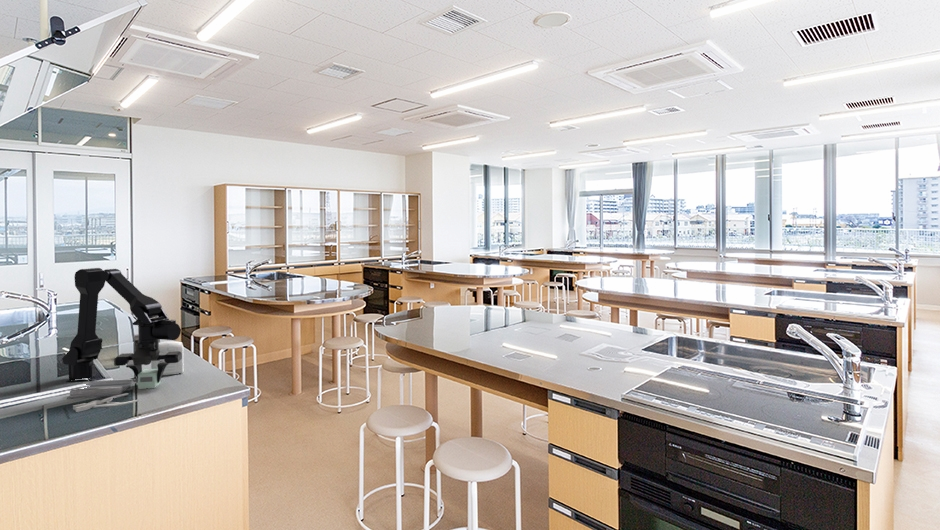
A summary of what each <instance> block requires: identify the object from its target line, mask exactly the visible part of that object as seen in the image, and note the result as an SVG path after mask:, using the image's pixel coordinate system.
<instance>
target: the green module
mask: <svg viewBox="0 0 940 530" xmlns="http://www.w3.org/2000/svg"><path fill="white" fill-rule="evenodd" d="M157 374H158V369H151V368H149V369H148V368H147V369H145V368H144V369H142V372H140V373H139V374H138V379H137V389H138V390H145V389H146V388H148V389H156V388H157V387H158V386H159V385H160V384H161V383H162V379H161V380H160V382H159V383H158V382H157ZM157 385H158V386H157ZM156 386H157V387H156ZM155 387H156V388H155Z"/></svg>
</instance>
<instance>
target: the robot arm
mask: <svg viewBox="0 0 940 530" xmlns="http://www.w3.org/2000/svg"><path fill="white" fill-rule="evenodd" d="M106 283H107V284H108V285H109V286H110V287H111V288H113V290H114V291H116V293H118V294H119V296H120V297H121V298H123V299H124V300H125V301H126V302H127V304H129V309H130V312H131V313H132V314H133V316H134V317H135V319H136V320H135V321H133V322H132V325H133V326H138V328H137V329H138V337H139V343H138V345H137V350H136V351H135V353H134V352H132V353H131V352H130V353H128V352H127V353H120V354H119V355H117V356H116V357H115V358H114V360H113V364H114V365H113V366H114V367H117V366H118V367H119V366H125V368H129V369H131V370H132V372H133V373H134V375H135V377H136V379H137V380H138V374H139V373H140V372H142V371H143V367H142V365H143V366H147V365H150V364H151V361H158V360H159V362H160V363H159V364H158V365H157V367H158V374H157V382H158V383H159V382H160V380H161V381H162V376H163V375H162V374H163V372H164V370H165V368H166V366H167V365H168V364H169V363H177V362H179V361H180V360H181V359H182V353H181V352H180V351H174V352H168V353H167V354H166V355H159V353H160V350H159V342H161V340H163V341H164V340H165V341H176V340H177V339H179V337H180V336H181V330H182V328H181V327H180V325H179V324H178V323H176V319H170V318H169V316H168V315H167V313H166V312H165V310H164V308H163V307H162V305H161V303H160V302H159V301H158V300H156V299H154V298H153V297H151V296H148V295H146V294H143V293H142V292H141V291H140V290H139V289H138V288H137V287H136V286H135V285H134V284H133V283H132V282H131V281H130V280H129V279H128V278H127V277H125V276H124V274H123V273H122V271H121V270H120V269H117V268H107V269H104V270H103V268H100V267H93V268H81V269H80V268H79V269H78V270H77V271H76V272H75V273H74V286H75V288H76V289H77V291H78V293H79V306H78V319H77V320H78V321H77V333H76V335H75V336H74V337H73V339H72V340H71V342H70V345H69V350H68V351H67V352H66V353H65V355H63V356H62V363H63V365H66V366H68V370H67V371H68V379H66V382H67V381H69V382H72V381H71V380H75V379H82V378H90V377H92V378H94V377H96V376H95V375H97V374H96V364H95V363H94V360H98V358H99V355H100V353H101V351H102V350H103V345H102V343H103V338H101V337H99V336H98V335H97V333H96V330H97V317H98V316H97V315H98V302H99V294H100V292H101V291H102V290H103V288H104V287H105V284H106ZM93 376H94V377H93Z"/></svg>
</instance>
